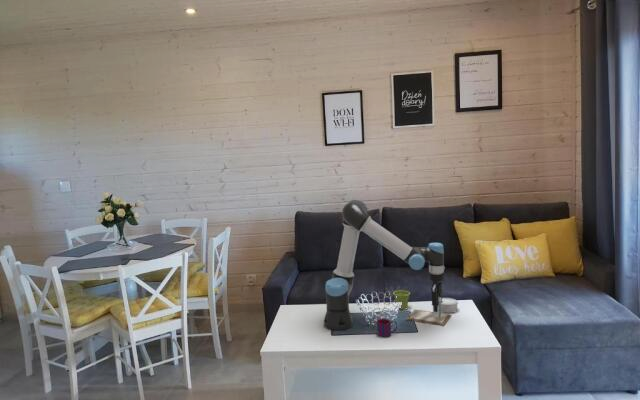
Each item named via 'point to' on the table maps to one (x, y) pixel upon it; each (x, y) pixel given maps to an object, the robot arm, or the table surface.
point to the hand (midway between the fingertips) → (437, 315)
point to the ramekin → (448, 305)
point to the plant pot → (402, 298)
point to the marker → (439, 305)
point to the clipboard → (428, 317)
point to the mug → (384, 327)
